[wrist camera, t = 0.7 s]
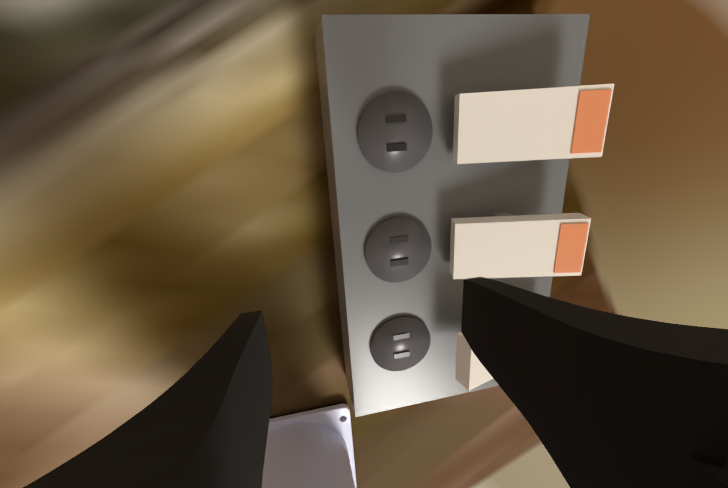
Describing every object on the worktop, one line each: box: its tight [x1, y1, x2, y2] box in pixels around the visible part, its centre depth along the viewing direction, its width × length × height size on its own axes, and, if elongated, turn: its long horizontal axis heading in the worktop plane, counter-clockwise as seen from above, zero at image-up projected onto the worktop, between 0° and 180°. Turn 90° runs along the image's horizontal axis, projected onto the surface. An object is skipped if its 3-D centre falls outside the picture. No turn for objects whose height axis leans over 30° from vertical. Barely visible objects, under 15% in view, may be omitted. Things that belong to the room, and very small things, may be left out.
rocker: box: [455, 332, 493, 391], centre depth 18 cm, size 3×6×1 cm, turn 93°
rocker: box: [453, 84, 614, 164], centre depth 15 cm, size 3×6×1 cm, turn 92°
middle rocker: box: [449, 213, 591, 279], centre depth 16 cm, size 3×6×1 cm, turn 93°
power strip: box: [315, 14, 590, 417], centre depth 19 cm, size 20×12×4 cm, turn 3°
